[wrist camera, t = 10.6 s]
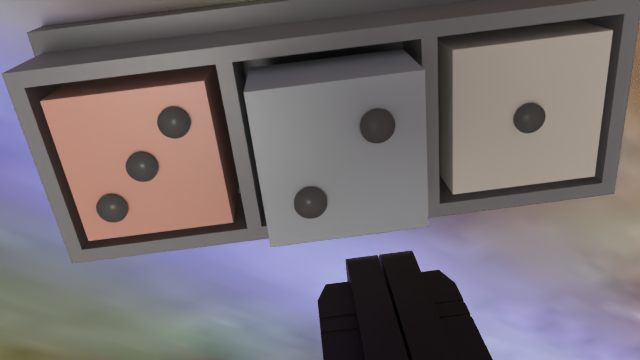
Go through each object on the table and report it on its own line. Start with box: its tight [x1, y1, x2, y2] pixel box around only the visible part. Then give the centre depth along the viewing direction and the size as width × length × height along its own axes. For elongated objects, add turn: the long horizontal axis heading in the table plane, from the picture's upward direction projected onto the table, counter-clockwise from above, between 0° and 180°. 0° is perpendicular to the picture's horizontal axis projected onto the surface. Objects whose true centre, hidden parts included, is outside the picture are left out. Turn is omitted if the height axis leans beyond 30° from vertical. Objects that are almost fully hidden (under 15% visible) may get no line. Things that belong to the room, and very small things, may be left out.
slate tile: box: [244, 49, 429, 247], centre depth 20 cm, size 6×6×4 cm
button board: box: [2, 0, 640, 264], centre depth 23 cm, size 24×10×5 cm, turn 96°
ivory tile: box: [437, 20, 613, 194], centre depth 22 cm, size 6×6×4 cm
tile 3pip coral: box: [40, 64, 239, 241], centre depth 22 cm, size 6×6×4 cm
